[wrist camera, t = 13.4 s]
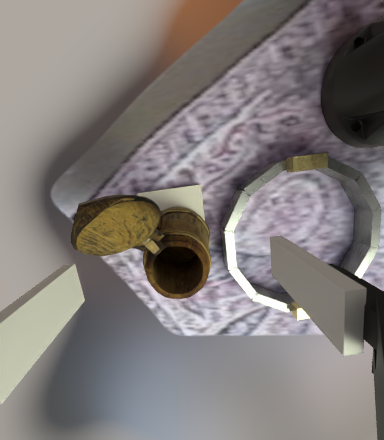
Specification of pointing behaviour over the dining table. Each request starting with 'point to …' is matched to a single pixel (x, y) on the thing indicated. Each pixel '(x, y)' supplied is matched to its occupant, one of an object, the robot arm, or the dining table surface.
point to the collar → (363, 227)
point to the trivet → (178, 198)
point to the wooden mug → (148, 240)
